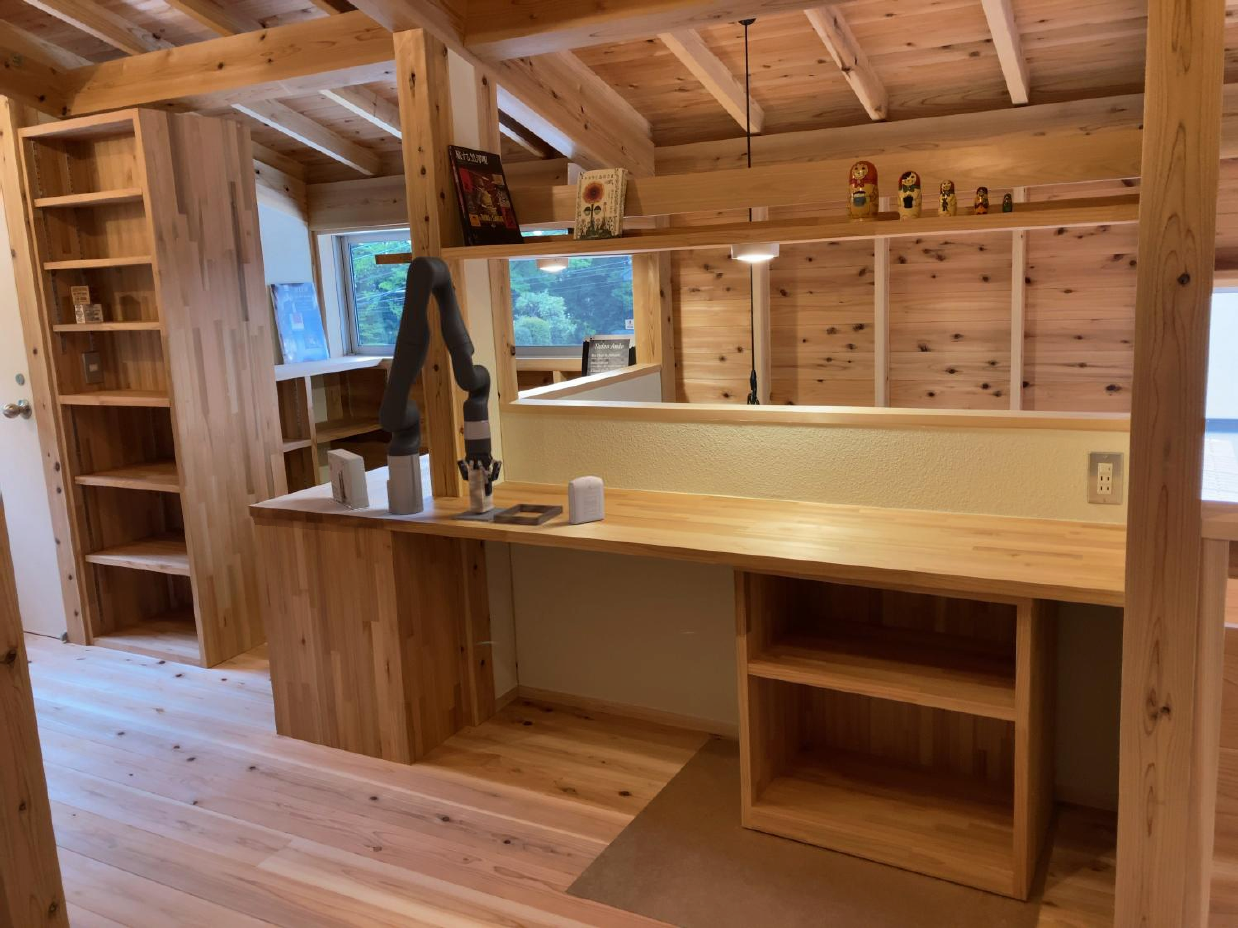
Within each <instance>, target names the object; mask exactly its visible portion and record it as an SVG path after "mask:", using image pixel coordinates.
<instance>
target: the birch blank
mask: <svg viewBox="0 0 1238 928" xmlns="http://www.w3.org/2000/svg"><path fill="white" fill-rule="evenodd" d="M490 469H491V470H492V466H490ZM487 471H488V470H486V472H487ZM468 478H469V482H468V487H469V489H468V490H469V492H468V493H469V502H470V503H469V504H470V509H471V512H485V511H487V510H490V509H492V508H494V507H495V505H494V492H493V491H494V490H493V488H492V493H491V495H490V496H486V495H485V481H484V476H483V470H480V469H473V470H471V469H470V470H469V469H468Z"/></svg>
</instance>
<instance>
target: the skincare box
mask: <svg viewBox="0 0 1238 928" xmlns="http://www.w3.org/2000/svg"><path fill="white" fill-rule="evenodd" d="M326 454H327V461H328V469H329V476H330V484H331V492H332V499H333V498H334V499H336V500H337V501H336V500H335V501H336V502H338V501H340V502H342V503H344V504H345V505H347V506H350V507H351V508H353V509H358V510H360V509H359V508H364V509H367V508H366V507H369V508H370V501H369V493H368V485H367V479H366V471H365V470H366V469H365V461H364V457H363V456H361V455H358V454H355V453H353V452H351V451H348V450H345V449H343V448H338V449H332V450H327V451H326ZM334 499H333V500H334ZM340 502H339V503H340ZM342 503H341V504H342ZM344 504H343V505H344ZM345 505H344V506H345ZM347 506H346V507H347ZM351 508H350V509H351ZM353 509H352V510H353Z"/></svg>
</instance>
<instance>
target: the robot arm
mask: <svg viewBox="0 0 1238 928" xmlns="http://www.w3.org/2000/svg"><path fill="white" fill-rule="evenodd" d="M407 268H408V269H407V272H406V279H405V289H404V300H403V305H402V312H401V316H400V317H401V318H400V323H399V328H398V332H397V336H396V340H395V345H394V349H393V357H392V362H391V366H390V371H389V376H388V381H387V385H386V386H385V391H384V394H383V397H382V399H381V404H380V407H379V410H378V422H379V424H380V427H381V428H382V429H383V430H384V431H385V432H387V433H389V434H390V433H392V437H391V440H390V442H389V443H388V444H387V446H386V454H387V457H386V459H387V468H388V469H387V470H388V479H387V480H386V491H387V503H388V512H389V513H393V514H396V515H409V514H410V515H411V514H415V513H419V512H422V511H424V509H425V508H424V507H425V506H424V497H423V486H422V485H423V484H422V482H423V481H422V471H421V470H422V469H421V460H420V445H421V442H422V429H421V427H422V426H421V414H420V411H419V407H418V405H417V403H416V402H415V401H413V400H412V399H411V398H409V397H410V393H411V390H412V387H413V386H414V383H415V382H416V379H417V378H418V376H419V375H420V372H421V371H422V369H423V368H424V366H425V363H426V361H427V357H428V354H429V349H430V345H431V344H430V343H431V331H430V330H431V329H430V324H429V320H428V307H429V306H428V305H429V303H430V297H431V294H432V295H433V296H432V297H434V299H435V301H436V303H437V306H438V307H437V308H438V312H439V320H440V321H439V322H440V332H441V335H442V339H443V341H444V343H445V346H446V349H447V350H448V351H447V352H448V353H449V356H450V358H451V367H452V371H453V377H454V379H455V383H456V385H457V386H458V387H459V388H460V389H461V390H462V391H464V392H468V396H467V399H466V400H465V401H464V402H463V403H462V416H463V427H462V428H463V440H464V441H463V442H464V453H465V456H464V458H462V459H460V460H457V461H456V465H457V467H458V469H459V472H460V475H461V478H462V480H463V481H467V482H468V483H469V478H468V470H470V469H471V470H473V469H480V470H483V476H484V481H485V495H486V496H490V495H491V493H492V489H493V482H494V481H495V482H496V481H498V479H499V476H500V472H501V468H502V464H503V463H502V462H503V461H501V460H496V459H494V457H493V456H492V435H491V434H492V433H491V426H490V417H489V406H488V404H489V398H490V392H491V383H492V381H491V374H490V372H489V370H488V369H487V367H486V366H484V365H482V364H474V363H473V362H474V361H473V358H472V356H473V355H474V354H475V351H476V350H475V347H474V344H473V341H472V339H471V336H470V334H469V332H468V329H467V328H466V327H467V326H466V324H465V321H464V319H463V315H462V313H461V310H460V307H459V302H458V299H457V296H456V292H455V287H454V282H453V279H452V276H451V271H450V269H449V266H448V264H447V262H446V261H445V260H444V259H442V258H440V257H437V256H418V257H415V258H414V259H412V261H411V262H410V264H409V265H408V267H407ZM468 467H469V468H468ZM490 467H491V469H490ZM486 470H488V471H487V472H486Z"/></svg>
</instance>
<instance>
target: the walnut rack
mask: <svg viewBox="0 0 1238 928" xmlns="http://www.w3.org/2000/svg"><path fill="white" fill-rule="evenodd" d="M563 507H564V506H563V505H554V504H553V505H552V504H551V505H550V504H536V503H535V504H533V503H517V504H515V505H512V506H511V507H508V508H509V509H506V510H504V511H502V512H500V513H498V514H495V515H493V516H494V519H493V523H499V524H515V525H527V526H528V525H529V526H540V525H542V524H544V523H546V522H547V521H550V520H551V519H554V518H556V517H557V516H559V515H561V514H563V513H564V508H563ZM521 512H529V513H532V512H533V513H542V514H540V515H538V516H525V515H524V516H523V515H516V514H518V513H521Z"/></svg>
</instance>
